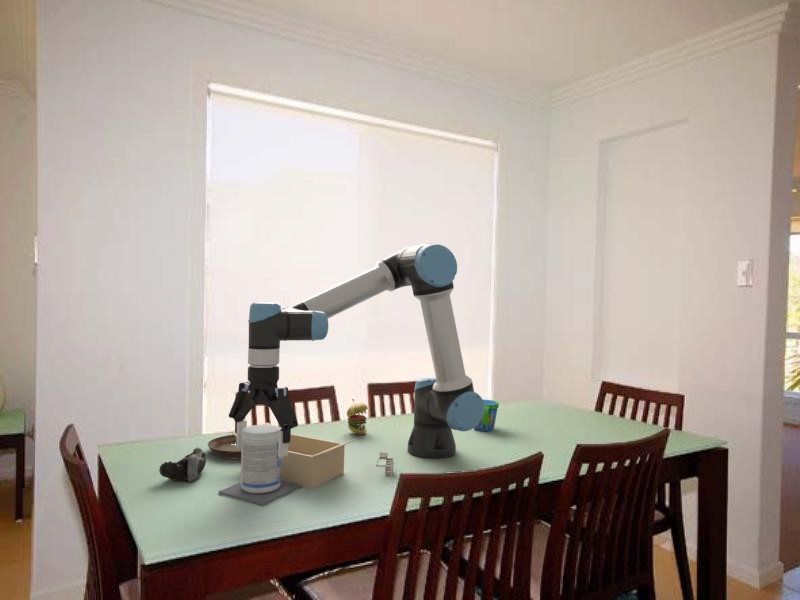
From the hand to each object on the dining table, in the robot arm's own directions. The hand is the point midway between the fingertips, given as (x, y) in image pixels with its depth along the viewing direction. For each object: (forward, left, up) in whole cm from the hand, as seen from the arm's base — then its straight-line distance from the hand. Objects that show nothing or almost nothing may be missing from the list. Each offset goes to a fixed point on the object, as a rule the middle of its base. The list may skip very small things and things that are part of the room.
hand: (261, 451), depth 138 cm
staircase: (-20, -27, -10) cm, 35 cm away
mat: (0, 0, -10) cm, 10 cm away
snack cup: (-25, -90, -10) cm, 94 cm away
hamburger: (+10, -59, -10) cm, 61 cm away
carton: (+2, -15, -10) cm, 18 cm away
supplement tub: (0, 0, -9) cm, 9 cm away
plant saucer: (+27, -22, -10) cm, 36 cm away
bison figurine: (+24, +3, -10) cm, 26 cm away
